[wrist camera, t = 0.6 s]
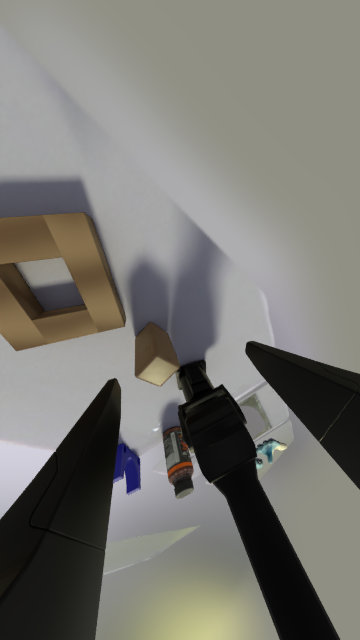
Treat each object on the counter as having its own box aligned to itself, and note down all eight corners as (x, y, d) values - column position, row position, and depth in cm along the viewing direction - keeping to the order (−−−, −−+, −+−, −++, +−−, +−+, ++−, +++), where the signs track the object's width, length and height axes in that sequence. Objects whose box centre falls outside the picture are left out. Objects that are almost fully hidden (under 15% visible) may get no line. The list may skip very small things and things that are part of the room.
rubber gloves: (250, 468, 85) (258, 484, 80) (224, 468, 69) (232, 487, 63) (285, 443, 82) (296, 457, 76) (266, 436, 65) (278, 453, 60)
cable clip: (104, 450, 33) (98, 486, 28) (123, 442, 34) (120, 476, 29) (124, 465, 39) (122, 497, 34) (140, 458, 40) (140, 489, 35)
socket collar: (126, 318, 20) (124, 326, 18) (30, 339, 18) (16, 351, 15) (91, 218, 14) (83, 212, 12) (-56, 229, 12) (-98, 224, 10)
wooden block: (150, 320, 21) (156, 353, 14) (168, 332, 23) (182, 367, 16) (134, 338, 22) (133, 378, 15) (153, 349, 24) (160, 388, 17)
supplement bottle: (186, 428, 39) (203, 486, 30) (170, 440, 40) (181, 501, 30) (175, 423, 36) (189, 486, 27) (157, 435, 37) (165, 502, 27)
